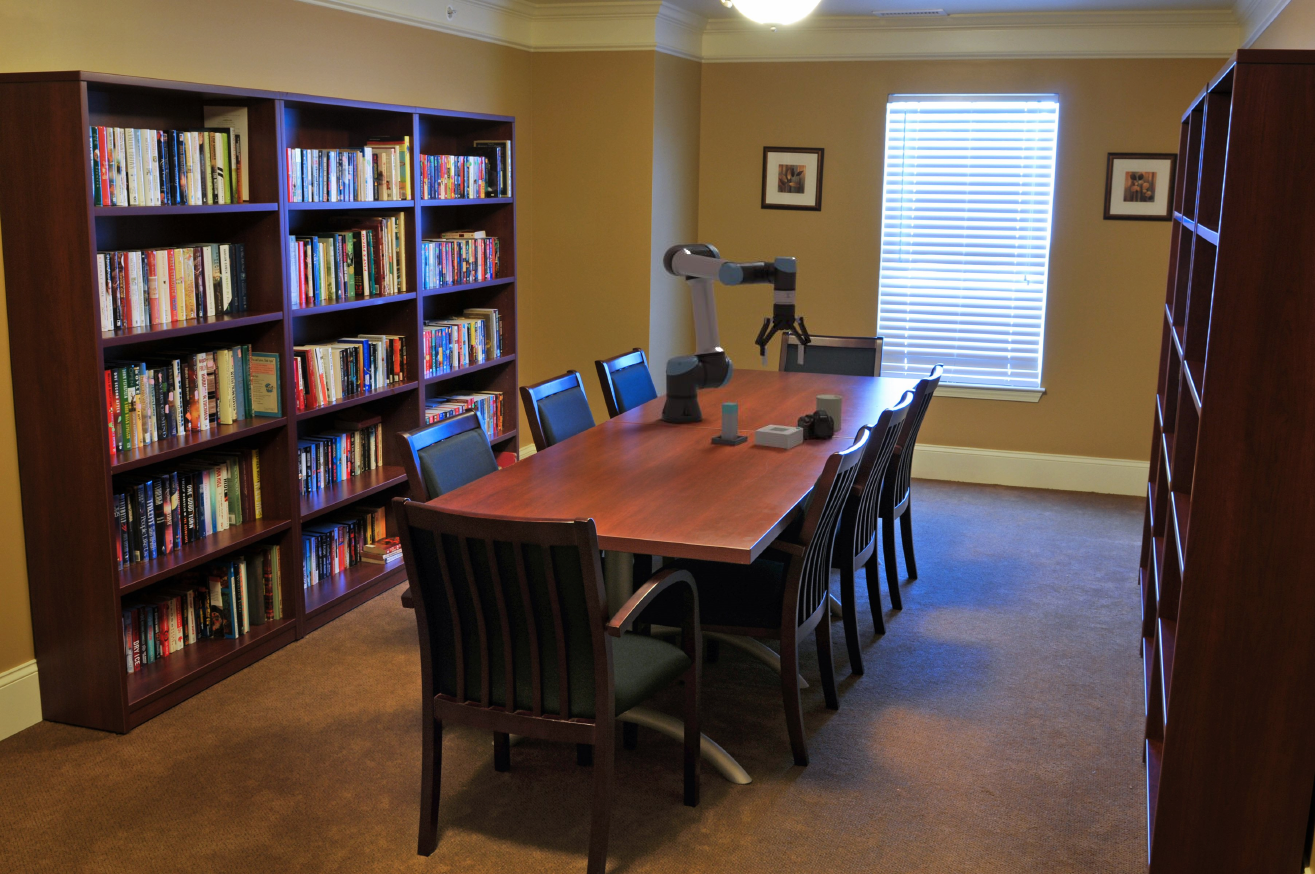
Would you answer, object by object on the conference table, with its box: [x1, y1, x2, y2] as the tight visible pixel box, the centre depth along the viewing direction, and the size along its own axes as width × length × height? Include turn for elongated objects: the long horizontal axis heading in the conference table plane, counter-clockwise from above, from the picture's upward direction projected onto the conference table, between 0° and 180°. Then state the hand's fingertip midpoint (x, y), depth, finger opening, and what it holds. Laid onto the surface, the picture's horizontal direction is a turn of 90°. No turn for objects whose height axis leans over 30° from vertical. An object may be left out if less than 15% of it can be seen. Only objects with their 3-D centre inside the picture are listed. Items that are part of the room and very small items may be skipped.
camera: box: [796, 409, 835, 441], centre depth 378 cm, size 13×10×10 cm
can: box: [815, 394, 843, 432], centre depth 394 cm, size 9×9×12 cm
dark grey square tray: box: [710, 433, 749, 447], centre depth 371 cm, size 9×9×2 cm
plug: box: [720, 402, 739, 440], centre depth 370 cm, size 4×4×13 cm
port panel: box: [754, 424, 804, 450], centre depth 369 cm, size 12×12×5 cm
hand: (782, 364), depth 381 cm, fingers open, 13 cm apart
